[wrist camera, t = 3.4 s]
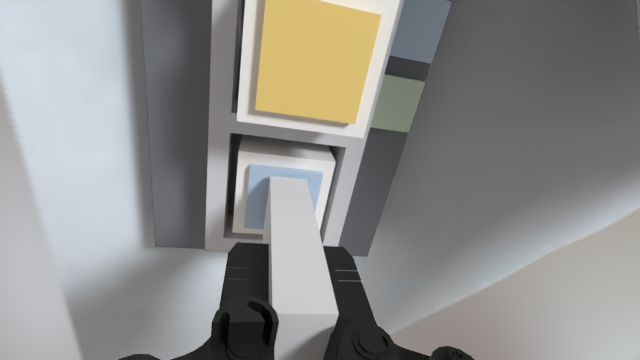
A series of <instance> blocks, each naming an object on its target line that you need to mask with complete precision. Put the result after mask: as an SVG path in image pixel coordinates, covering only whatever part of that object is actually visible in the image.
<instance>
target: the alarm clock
mask: <svg viewBox="0 0 640 360" xmlns="http://www.w3.org/2000/svg"><path fill="white" fill-rule="evenodd" d="M636 4H637V17H638V30H639V42H640V0H636Z"/></svg>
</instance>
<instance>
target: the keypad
mask: <svg viewBox="0 0 640 360" xmlns="http://www.w3.org/2000/svg"><path fill="white" fill-rule="evenodd" d="M451 4H452V2H451V0H400V2H399V6H398V9H397V13H396V17H395V21H394V25H393V28H392V32H391V36H390V40H389V44H388V47H387V51H386V55H385V59H384V62H383V66H382V70H381V74H380V78H379V81H378V85H377V89H376V93H375V96H374V100H373V104H372V108H371V112H370V115H369V119H368V123H367V127H366V130H365V134H364V138H358V137H351V136H343V135H336V134H329V133H321V132H314V131H306V130H299V129H292V128H284V127H277V126H269V125H262V124H255V123H247V122H240V121H237V109H238V95H239V81H240V67H241V53H242V39H243V25H244V11H245V0H141V14H142V31H143V48H144V65H145V81H146V98H147V115H148V132H149V149H150V165H151V182H152V199H153V216H154V233H155V247H175V248H196V249H205V251H223V252H230V250H231V249H232V248H233V247H234V245H235V244H236V243H237V242H243V243H261V244H263V234H251V233H234V232H232V230H233V217H234V204H235V191H236V178H237V165H238V153H239V147H240V142H241V137H242V134H245V135H253V136H261V137H268V138H276V139H284V140H292V141H300V142H308V143H316V144H324V145H328V147H329V149H330V151H331V153H332V155H333V157H334V159H335V162H336V163H335V167H334V172H333V176H332V180H331V185H330V189H329V193H328V198H327V202H326V206H325V211H324V215H323V219H322V224H321V228H320V232H319V233H320V237H321V241H322V245H323V246H336V247H344V248H345V249H346V250H347V251H348V253H349V254H350V255H351V256H367V255H368V252H369V249H370V246H371V243H372V240H373V237H374V234H375V231H376V228H377V225H378V222H379V219H380V216H381V213H382V210H383V207H384V204H385V200H386V197H387V194H388V191H389V188H390V185H391V182H392V179H393V176H394V173H395V170H396V167H397V164H398V161H399V158H400V155H401V152H402V149H403V146H404V143H405V140H406V137H407V134H408V133H409V131H410V128H411V125H412V122H413V119H414V116H415V113H416V110H417V107H418V104H419V101H420V98H421V95H422V92H423V89H424V86H425V83H426V82H425V79H426V76H427V73H428V70H429V67H430V64H432V62H433V59H434V56H435V53H436V50H437V47H438V44H439V41H440V38H441V35H442V32H443V29H444V26H445V23H446V19H447V16H448V13H449V10H450V7H451Z"/></svg>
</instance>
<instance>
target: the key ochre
mask: <svg viewBox="0 0 640 360" xmlns="http://www.w3.org/2000/svg"><path fill="white" fill-rule="evenodd" d="M399 2H400V0H245V11H244V25H243V39H242V53H241V67H240V81H239V95H238V109H237V121H240V122H247V123H255V124H262V125H269V126H277V127H284V128H292V129H299V130H306V131H314V132H321V133H329V134H336V135H343V136H351V137H358V138H364V134H365V130H366V127H367V123H368V119H369V115H370V112H371V108H372V104H373V100H374V96H375V93H376V89H377V85H378V81H379V78H380V74H381V70H382V66H383V62H384V59H385V55H386V51H387V47H388V44H389V40H390V36H391V32H392V28H393V25H394V21H395V17H396V13H397V9H398V6H399Z"/></svg>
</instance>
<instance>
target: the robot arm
mask: <svg viewBox="0 0 640 360" xmlns="http://www.w3.org/2000/svg"><path fill="white" fill-rule="evenodd" d="M118 360H160V359H158V358H156V357H154V356H151V355H149V354H134V355H131V356H127V357H124V358H121V359H118ZM171 360H474V359H473V358H472V357H471V356H469V355H468V354H466V353H464V352H463V351H461V350H460V349H456V348H453V347H450V346H445V347H439V348H437V349H436V350H435V351H433V353H432V355H431V357H430V356H427V355H423V354H421V353H417V352H414V351H411V350H408V349H405V348H402V347H400V346H398V345H396V344H394V343H393V341H392V339H391V338H390V336H389V335H388V334H387V333H386V332H385V331H384V330H383V329H382V328H380V327H379V326H377V324H376V322H375V319H374V316H373V313H372V310H371V308H370V305H369V302H368V299H367V296H366V293H365V290H364V288H363V285H362V282H361V279H360V276H359V273H358V272H357V268H356V265H355V262H354V259H353V257H352V256H351V255H350V254H349V253H348V251H347V250H346V249H345V248H344V247H336V246H323V245H322V241H321V237H320V233H319V228H318V224H317V220H316V216H315V212H314V207H313V203H312V199H311V195H310V191H309V186H308V182H307V179H298V178H288V177H278V176H270V182H269V189H268V197H267V205H266V212H265V220H264V227H263V244H261V243H243V242H237V243H236V244H235V245H234V247H233V248H232V249H231V250H230V252H229V253H228V258H227V264H226V271H225V277H224V283H223V289H222V295H221V301H220V307H219V310H217V311H216V314H215V316H214V319H213V321H212V331H211V337H210V338H209V339H208V340H207V341H206V342H205V343H204V344H203V345H202V346H201V347H199V348H198V349H196V350H195V351H193V352H190V353H188V354H186V355H183V356H180V357H177V358H174V359H171Z"/></svg>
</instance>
